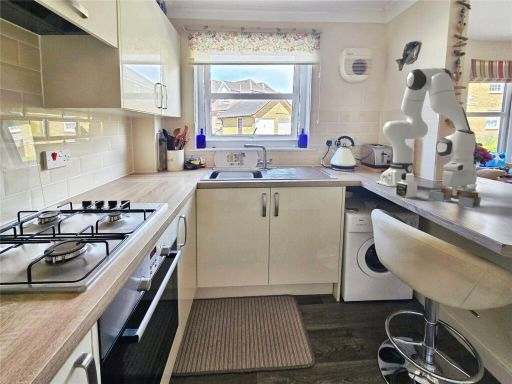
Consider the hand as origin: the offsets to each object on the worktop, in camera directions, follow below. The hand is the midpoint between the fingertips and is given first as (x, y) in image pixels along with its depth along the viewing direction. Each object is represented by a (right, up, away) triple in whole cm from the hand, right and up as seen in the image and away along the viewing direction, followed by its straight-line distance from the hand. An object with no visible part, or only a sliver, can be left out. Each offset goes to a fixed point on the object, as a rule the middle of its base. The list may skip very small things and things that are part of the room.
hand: (458, 194), depth 156 cm
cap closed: (-4, -2, +8) cm, 9 cm away
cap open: (+2, -5, -4) cm, 7 cm away
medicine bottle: (-17, -1, +17) cm, 24 cm away
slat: (0, -2, 0) cm, 2 cm away
